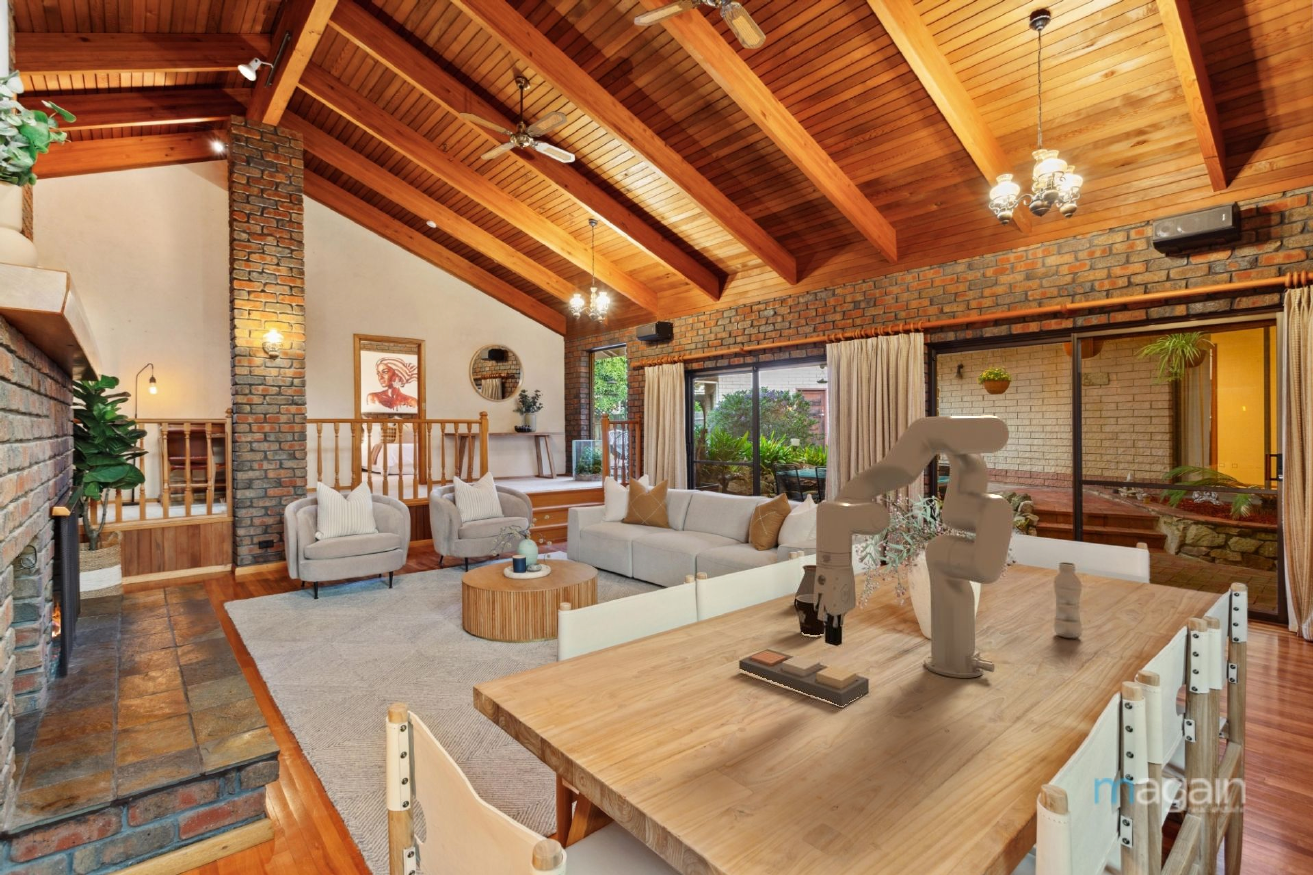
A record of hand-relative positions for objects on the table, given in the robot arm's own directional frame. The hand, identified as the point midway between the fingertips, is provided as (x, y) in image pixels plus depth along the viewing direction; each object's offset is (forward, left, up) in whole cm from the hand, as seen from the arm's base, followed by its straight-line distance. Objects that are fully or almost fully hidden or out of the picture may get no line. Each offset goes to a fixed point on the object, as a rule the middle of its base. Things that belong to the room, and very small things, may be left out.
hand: (833, 643), depth 134 cm
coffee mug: (+27, -33, -11) cm, 44 cm away
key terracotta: (+18, -1, -10) cm, 20 cm away
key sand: (0, -1, -8) cm, 8 cm away
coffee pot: (+40, -61, -11) cm, 73 cm away
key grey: (+9, -1, -8) cm, 12 cm away
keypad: (+9, -1, -11) cm, 14 cm away
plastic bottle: (-25, -77, -11) cm, 81 cm away
